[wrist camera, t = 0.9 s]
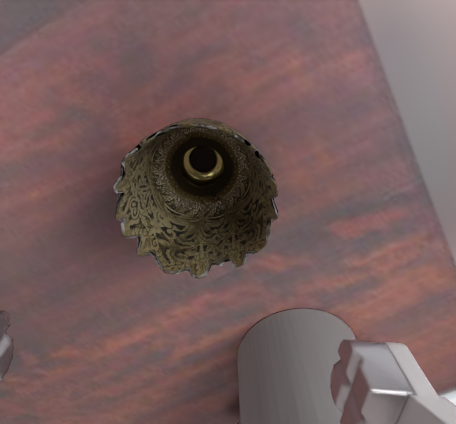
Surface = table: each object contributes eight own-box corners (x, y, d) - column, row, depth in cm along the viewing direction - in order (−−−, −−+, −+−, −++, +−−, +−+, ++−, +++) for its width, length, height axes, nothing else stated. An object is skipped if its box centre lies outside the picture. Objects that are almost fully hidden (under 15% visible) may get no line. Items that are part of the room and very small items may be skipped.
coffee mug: (319, 286, 28) (367, 402, 19) (378, 366, 32) (442, 496, 23) (179, 366, 31) (162, 498, 22) (246, 431, 35) (256, 569, 25)
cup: (244, 83, 22) (256, 102, 15) (273, 195, 25) (295, 255, 18) (127, 119, 23) (83, 153, 16) (167, 223, 26) (147, 294, 19)
